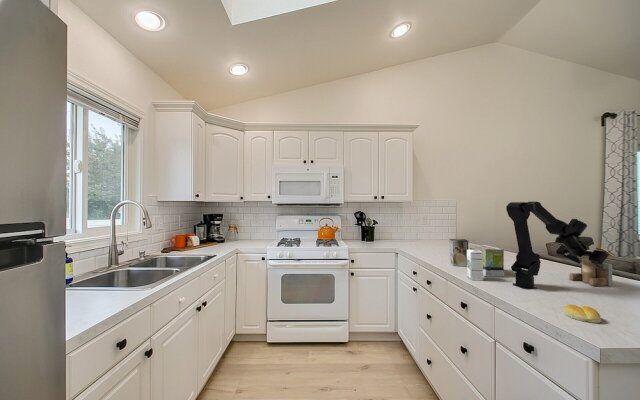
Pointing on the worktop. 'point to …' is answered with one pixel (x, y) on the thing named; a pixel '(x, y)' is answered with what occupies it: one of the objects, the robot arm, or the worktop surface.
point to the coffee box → (458, 252)
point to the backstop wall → (609, 267)
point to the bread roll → (582, 313)
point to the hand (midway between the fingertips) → (590, 265)
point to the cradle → (600, 279)
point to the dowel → (587, 270)
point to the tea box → (491, 260)
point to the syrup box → (475, 265)
